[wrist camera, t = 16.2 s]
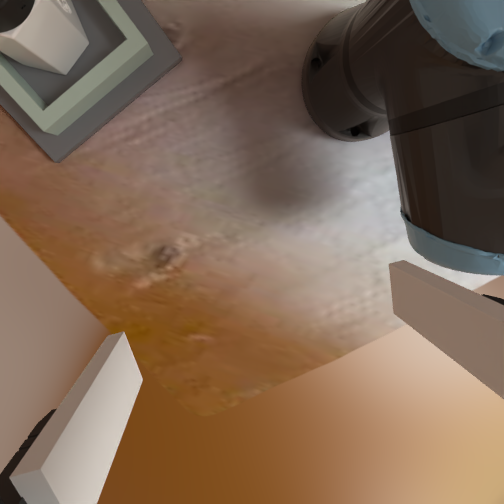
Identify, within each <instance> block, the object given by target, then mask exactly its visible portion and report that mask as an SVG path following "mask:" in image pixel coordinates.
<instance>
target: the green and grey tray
mask: <svg viewBox="0 0 504 504" xmlns="http://www.w3.org/2000/svg"><path fill="white" fill-rule="evenodd" d="M71 1H72V3H73V6H74V8H75V10H76V13H77V15H78V17H79V20H80V22H81V25H82V27H83V29H84V32H85V34H86V36H87V39H88V41H89V45H88V46H87V47H86V49H85V50H84V52H83V53H82V54H81V56H80V57H79V58H78V60H77V61H76V62H75V64H74V65H73V67H72V68H71V69H70V71H69V72H68V73H67V75H62V74H58V73H54V72H50V71H46V70H42V69H38V68H34V67H29V66H25V65H23V64H21V63H19V62H17V61H16V60H14V59H12V58H11V57H9V56H7V55H6V54H4V53H2V52H1V51H0V104H1V105H2V107H3V108H4V109H5V110H6V111H7V112H8V113H9V114H10V115H11V116H12V117H13V118H14V119H15V120H16V121H17V122H18V123H19V125H20V126H21V127H22V128H23V129H24V130H25V131H26V132H27V133H28V134H29V135H30V136H31V137H32V138H33V139H34V140H35V142H36V143H37V144H38V145H39V146H40V147H41V148H42V149H43V150H44V151H45V152H46V153H47V154H48V155H49V156H50V157H51V158H52V160H53V161H54V162H55V163H60V162H61V161H62V160H64V159H65V158H66V157H67V156H68V155H69V154H71V153H72V152H73V151H74V150H75V149H77V148H78V147H79V146H80V145H81V144H83V143H84V142H85V141H86V140H87V139H89V138H90V137H91V136H92V135H93V134H95V133H96V132H97V131H98V130H99V129H100V128H102V127H103V126H104V125H105V124H106V123H108V122H109V121H110V120H111V119H112V118H114V117H115V116H116V115H117V114H118V113H120V112H121V111H122V110H123V109H124V108H126V107H127V106H128V105H129V104H130V103H131V102H133V101H134V100H135V99H136V98H137V97H139V96H140V95H141V94H142V93H143V92H145V91H146V90H147V89H148V88H149V87H151V86H152V85H153V84H154V83H155V82H157V81H158V80H159V79H160V78H161V77H162V76H164V75H165V74H166V73H167V72H168V71H170V70H171V69H172V68H173V67H174V66H176V65H177V64H178V63H179V62H180V61H182V57H181V55H180V54H179V52H178V51H177V50H176V48H175V47H174V46H173V44H172V43H171V41H170V40H169V39H168V37H167V36H166V34H165V33H164V32H163V30H162V29H161V27H160V26H159V25H158V23H157V22H156V20H155V19H154V18H153V16H152V15H151V13H150V12H149V11H148V9H147V8H146V7H145V5H144V4H143V2H142V1H141V0H71Z"/></svg>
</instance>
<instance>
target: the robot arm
mask: <svg viewBox="0 0 504 504" xmlns="http://www.w3.org/2000/svg"><path fill="white" fill-rule="evenodd" d="M302 92H303V97H304V101H305V104H306V107H307V110H308V112H309V114H310V115H311V117H312V119H313V120H314V122H315V123H316V124H317V125H318V126H319V127H320V128H321V129H322V130H323V131H324V132H326V133H327V134H329V135H330V136H332V137H334V138H337V139H339V140H343V141H351V142H356V141H363V140H367V139H371V138H374V137H377V136H380V135H382V134H384V133H386V132H387V131H389V130H390V139H391V145H392V151H393V157H394V163H395V168H396V174H397V181H398V188H399V194H400V201H401V211H400V212H401V216H402V218H403V220H404V222H405V225H406V230H407V234H408V239H409V242H410V244H411V246H412V248H413V249H414V250H415V251H416V252H417V253H418V254H420V255H421V256H423V257H424V258H425V259H426V260H428V261H430V262H432V263H434V264H437V265H439V266H442V267H445V268H448V269H452V270H456V271H461V272H467V273H473V274H482V275H504V0H367V1H366V2H364V3H362V4H359V5H357V6H354V7H352V8H349V9H347V10H345V11H343V12H341V13H340V14H338V15H337V16H335V17H334V18H333V19H332V20H330V21H329V22H328V23H327V24H326V25H325V26H324V28H323V29H322V30H321V31H320V33H319V34H318V36H317V37H316V38H315V40H314V41H313V43H312V45H311V46H310V48H309V50H308V53H307V55H306V58H305V61H304V66H303V71H302ZM389 270H390V280H391V291H392V301H393V311H394V314H395V315H397V316H398V317H399V318H400V319H402V320H403V321H404V322H406V323H407V324H408V325H410V326H411V327H412V328H413V329H415V330H416V331H417V332H418V333H420V334H421V335H422V336H423V337H425V338H426V339H427V340H429V341H430V342H431V343H433V344H434V345H435V346H436V347H438V348H439V349H440V350H441V351H443V352H444V353H445V354H447V355H448V356H449V357H450V358H452V359H453V360H454V361H456V362H457V363H458V364H459V365H461V366H462V367H463V368H465V369H466V370H467V371H468V372H470V373H471V374H472V375H473V376H475V377H476V378H477V379H479V380H480V381H481V382H482V383H484V384H485V385H486V386H488V387H489V388H490V389H491V390H493V391H494V392H495V393H497V394H498V395H499V396H500V397H502V398H503V399H504V299H501V298H497V297H493V296H489V295H485V294H483V295H480V294H477V293H475V292H473V291H471V290H469V289H466V288H464V287H462V286H460V285H458V284H455V283H453V282H451V281H449V280H447V279H444V278H442V277H440V276H438V275H435V274H433V273H431V272H429V271H427V270H424V269H422V268H420V267H418V266H416V265H413V264H411V263H409V262H407V261H404V260H402V261H398V262H394V263H390V264H389ZM142 380H143V379H142V376H141V374H140V371H139V369H138V366H137V363H136V361H135V358H134V356H133V353H132V351H131V348H130V345H129V343H128V340H127V338H126V335H125V333H124V332H120V333H116V334H112V335H109V336H107V338H106V339H105V341H104V342H103V343H102V345H101V346H100V348H99V349H98V351H97V352H96V353H95V355H94V356H93V358H92V359H91V361H90V362H89V363H88V365H87V366H86V368H85V369H84V371H83V372H82V374H81V375H80V376H79V378H78V379H77V381H76V382H75V384H74V385H73V386H72V388H71V389H70V391H69V392H68V394H67V395H66V397H65V398H64V400H63V401H62V402H61V404H60V405H59V407H58V408H57V409H54V410H51V411H50V412H49V413H48V414H47V415H46V416H45V417H44V418H43V419H42V420H41V421H40V422H38V424H37V425H36V426H35V428H34V429H33V430H32V432H31V433H30V435H29V436H28V439H27V440H25V441H24V443H23V444H22V445H21V447H20V448H19V451H17V452H16V453H15V455H14V456H13V458H12V459H11V460H10V462H9V463H8V464H7V466H6V467H5V468H4V470H3V471H2V473H1V474H0V504H97V502H98V499H99V496H100V493H101V491H102V488H103V485H104V482H105V480H106V477H107V474H108V472H109V469H110V466H111V464H112V461H113V458H114V456H115V453H116V450H117V448H118V445H119V442H120V440H121V437H122V434H123V431H124V429H125V426H126V424H127V420H128V418H129V416H130V413H131V410H132V408H133V404H134V402H135V399H136V397H137V394H138V391H139V389H140V386H141V383H142Z"/></svg>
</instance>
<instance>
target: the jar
mask: <svg viewBox="0 0 504 504" xmlns="http://www.w3.org/2000/svg"><path fill="white" fill-rule="evenodd" d="M88 45H89V41H88V39H87V36H86V34H85V32H84V29H83V27H82V25H81V22H80V20H79V17H78V15H77V13H76V10H75V8H74V6H73V3H72V1H71V0H0V51H1V52H2V53H4V54H6V55H7V56H9V57H11V58H12V59H14V60H16V61H17V62H19V63H21V64H23V65H25V66H29V67H34V68H38V69H42V70H46V71H50V72H54V73H58V74H62V75H67V73H68V72H69V71H70V69H71V68H72V67H73V65H74V64H75V62H76V61H77V60H78V58H79V57H80V56H81V54H82V53H83V52H84V50H85V49H86V47H87V46H88Z"/></svg>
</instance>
